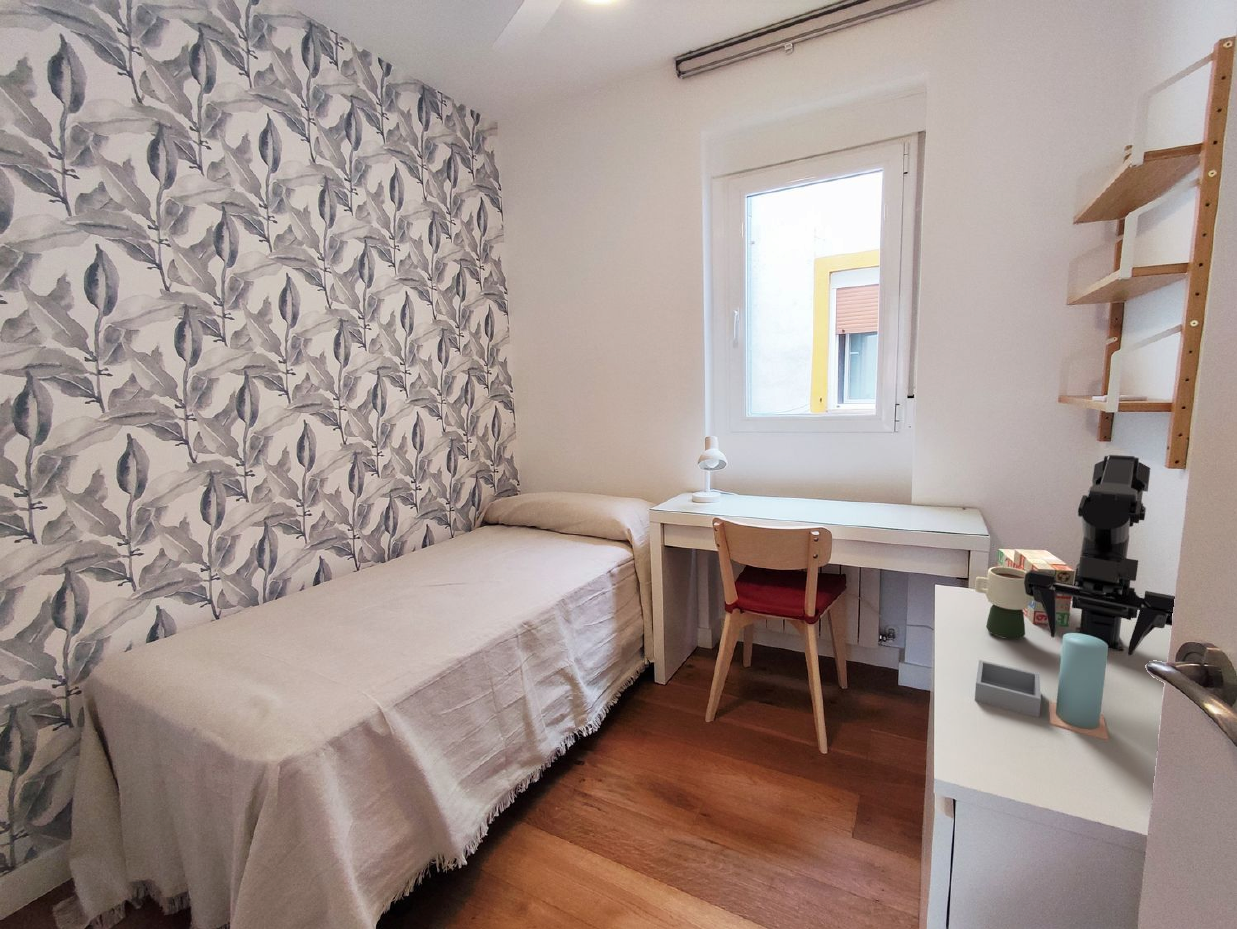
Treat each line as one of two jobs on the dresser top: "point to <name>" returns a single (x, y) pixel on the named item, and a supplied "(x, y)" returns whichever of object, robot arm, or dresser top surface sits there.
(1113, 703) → the dresser top surface
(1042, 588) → the robot arm
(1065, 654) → the teal post
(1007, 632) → the character mug
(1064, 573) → the stack of blocks
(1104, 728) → the terracotta coaster
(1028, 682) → the slate tray
